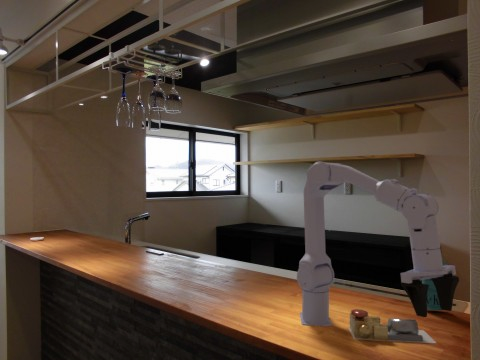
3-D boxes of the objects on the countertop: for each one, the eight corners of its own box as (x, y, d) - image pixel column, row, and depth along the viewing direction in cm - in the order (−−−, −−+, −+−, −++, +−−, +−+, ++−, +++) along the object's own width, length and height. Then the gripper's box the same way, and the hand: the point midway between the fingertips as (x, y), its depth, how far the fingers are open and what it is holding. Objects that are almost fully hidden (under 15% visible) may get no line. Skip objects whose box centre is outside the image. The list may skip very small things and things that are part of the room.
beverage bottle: (420, 307, 114) (420, 243, 114) (444, 310, 111) (444, 244, 112) (422, 314, 108) (421, 246, 108) (447, 317, 105) (447, 247, 106)
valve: (347, 325, 97) (347, 305, 97) (378, 327, 97) (378, 306, 97) (355, 340, 88) (355, 318, 88) (389, 342, 87) (389, 319, 87)
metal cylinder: (387, 330, 94) (388, 315, 93) (412, 331, 93) (412, 316, 93) (392, 338, 90) (393, 323, 89) (418, 340, 89) (418, 324, 89)
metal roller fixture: (347, 328, 97) (347, 322, 97) (423, 331, 95) (423, 325, 95) (354, 340, 89) (354, 334, 89) (436, 344, 87) (436, 338, 87)
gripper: (417, 253, 74) (426, 323, 72) (465, 246, 80) (474, 310, 78) (390, 251, 80) (398, 316, 78) (436, 245, 86) (444, 305, 84)
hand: (434, 313), depth 79 cm, fingers open, 7 cm apart
